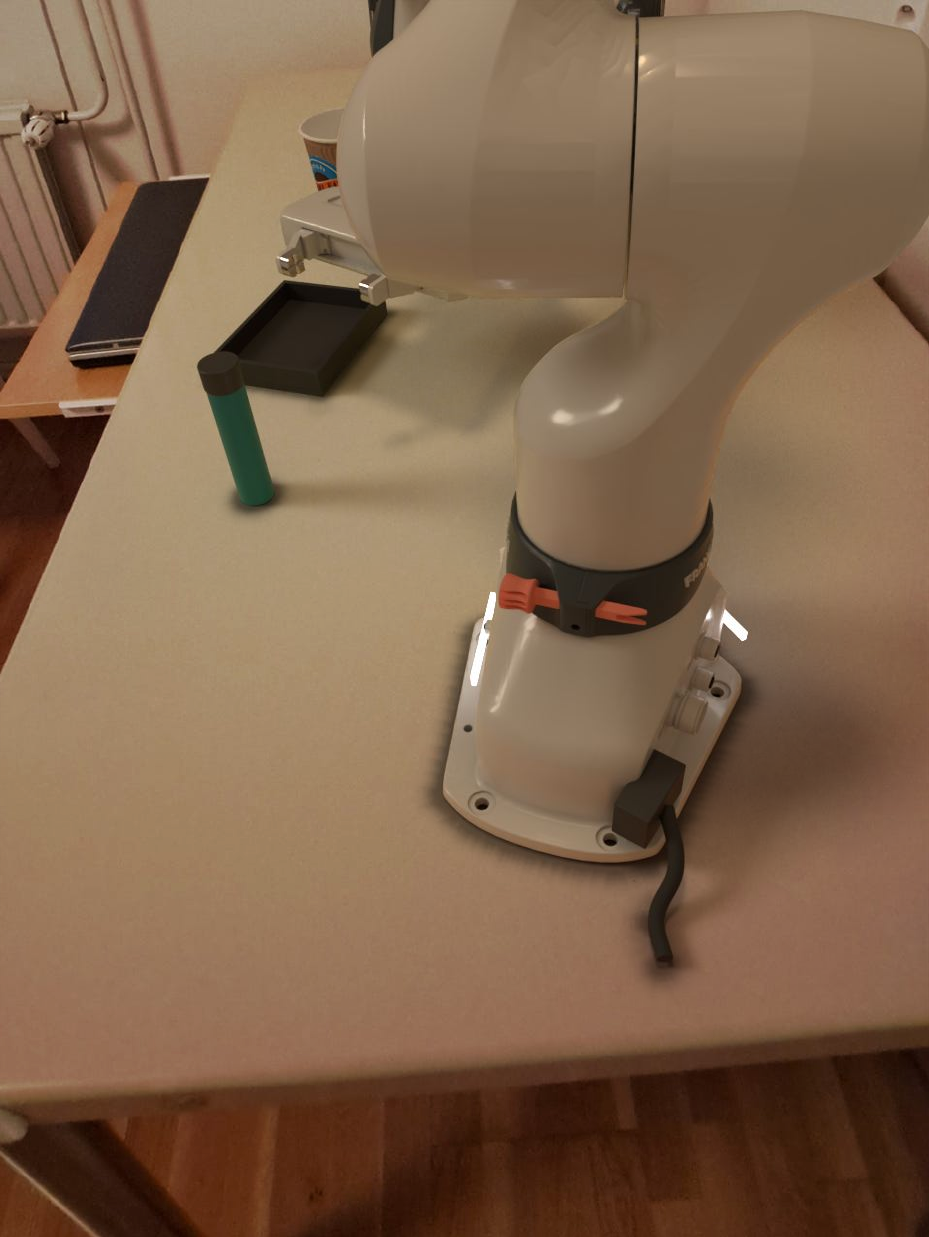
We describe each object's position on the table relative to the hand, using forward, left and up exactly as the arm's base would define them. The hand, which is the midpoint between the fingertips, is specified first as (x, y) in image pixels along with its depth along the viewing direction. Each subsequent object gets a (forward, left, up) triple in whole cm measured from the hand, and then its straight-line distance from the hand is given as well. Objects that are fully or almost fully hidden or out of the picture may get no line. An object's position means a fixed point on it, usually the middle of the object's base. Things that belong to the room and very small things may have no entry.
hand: (323, 281), depth 77 cm
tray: (+11, +11, -14) cm, 21 cm away
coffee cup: (+38, +17, -14) cm, 44 cm away
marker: (-12, +4, -14) cm, 19 cm away
